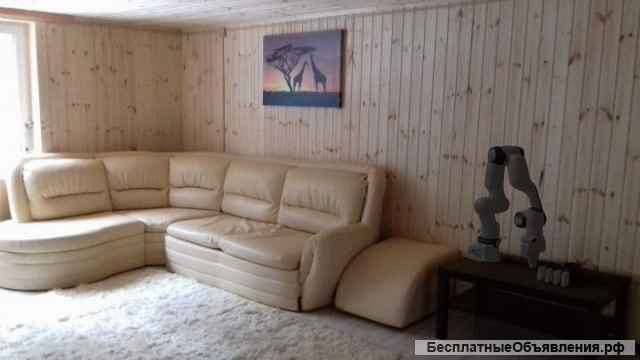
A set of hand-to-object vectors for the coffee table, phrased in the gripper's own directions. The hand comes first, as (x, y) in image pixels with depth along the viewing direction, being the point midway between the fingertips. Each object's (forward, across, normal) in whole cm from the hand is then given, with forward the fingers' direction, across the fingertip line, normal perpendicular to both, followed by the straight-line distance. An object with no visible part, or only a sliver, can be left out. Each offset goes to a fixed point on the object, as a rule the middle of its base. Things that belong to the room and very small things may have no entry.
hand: (532, 261), depth 317 cm
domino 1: (+3, 0, 0) cm, 3 cm away
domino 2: (+9, 0, +5) cm, 10 cm away
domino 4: (+9, 0, +14) cm, 17 cm away
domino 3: (+9, 0, +10) cm, 13 cm away
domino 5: (+9, 0, +19) cm, 21 cm away
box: (+9, -20, +12) cm, 25 cm away
